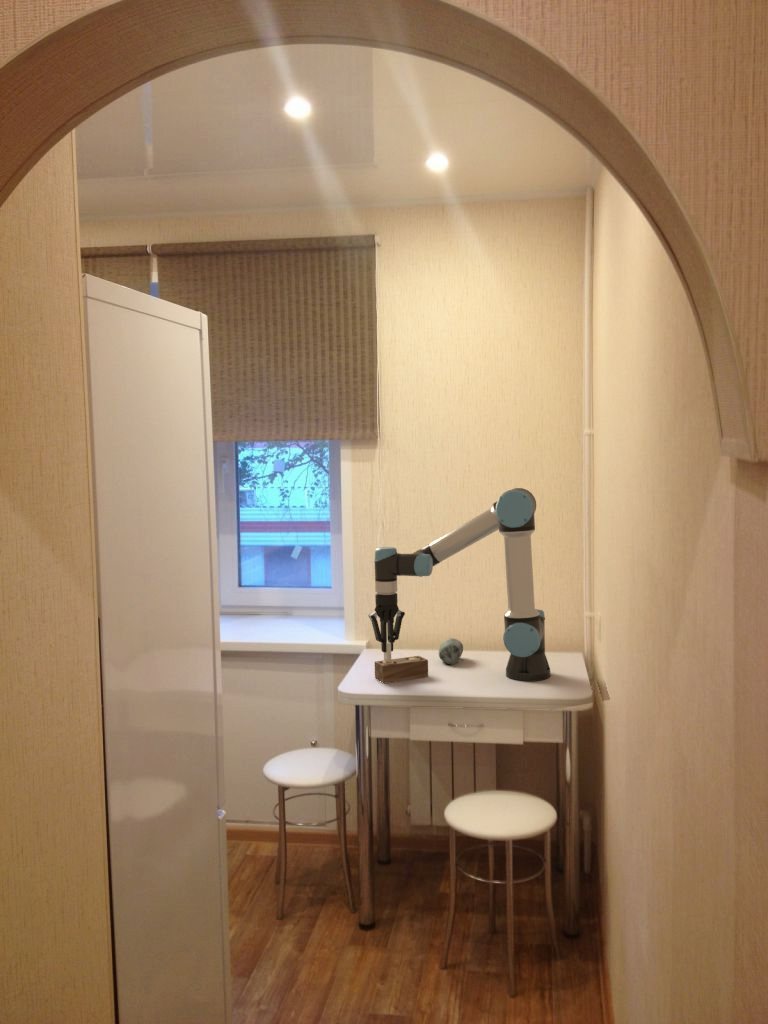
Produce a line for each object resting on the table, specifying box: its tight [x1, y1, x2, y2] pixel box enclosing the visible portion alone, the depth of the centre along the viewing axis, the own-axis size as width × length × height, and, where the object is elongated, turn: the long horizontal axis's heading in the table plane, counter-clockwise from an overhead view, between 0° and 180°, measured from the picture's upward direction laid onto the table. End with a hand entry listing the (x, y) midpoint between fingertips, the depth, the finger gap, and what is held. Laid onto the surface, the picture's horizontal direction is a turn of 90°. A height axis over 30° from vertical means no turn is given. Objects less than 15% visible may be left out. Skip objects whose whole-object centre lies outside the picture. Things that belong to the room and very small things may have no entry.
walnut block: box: [374, 655, 429, 684], centre depth 308 cm, size 7×17×6 cm, turn 115°
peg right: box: [409, 658, 420, 661], centre depth 310 cm, size 4×4×5 cm
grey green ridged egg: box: [438, 637, 464, 665], centre depth 330 cm, size 14×10×10 cm
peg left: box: [382, 660, 394, 665], centre depth 306 cm, size 4×4×5 cm
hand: (387, 661), depth 306 cm, fingers closed
